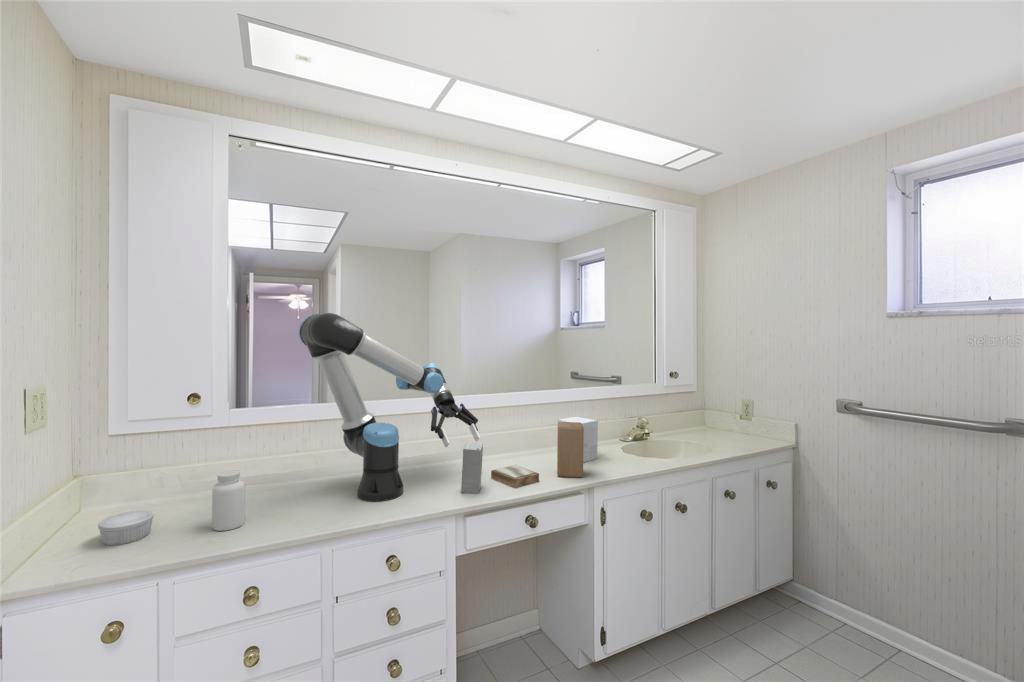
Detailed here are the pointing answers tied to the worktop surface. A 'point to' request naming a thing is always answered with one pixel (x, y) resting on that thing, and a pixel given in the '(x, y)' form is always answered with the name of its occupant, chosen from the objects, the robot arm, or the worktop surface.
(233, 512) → the pill bottle
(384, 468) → the robot arm
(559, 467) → the wooden block
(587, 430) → the supplement box
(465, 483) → the skincare box
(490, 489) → the worktop surface
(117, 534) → the ramekin
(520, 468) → the wooden framed mirror
